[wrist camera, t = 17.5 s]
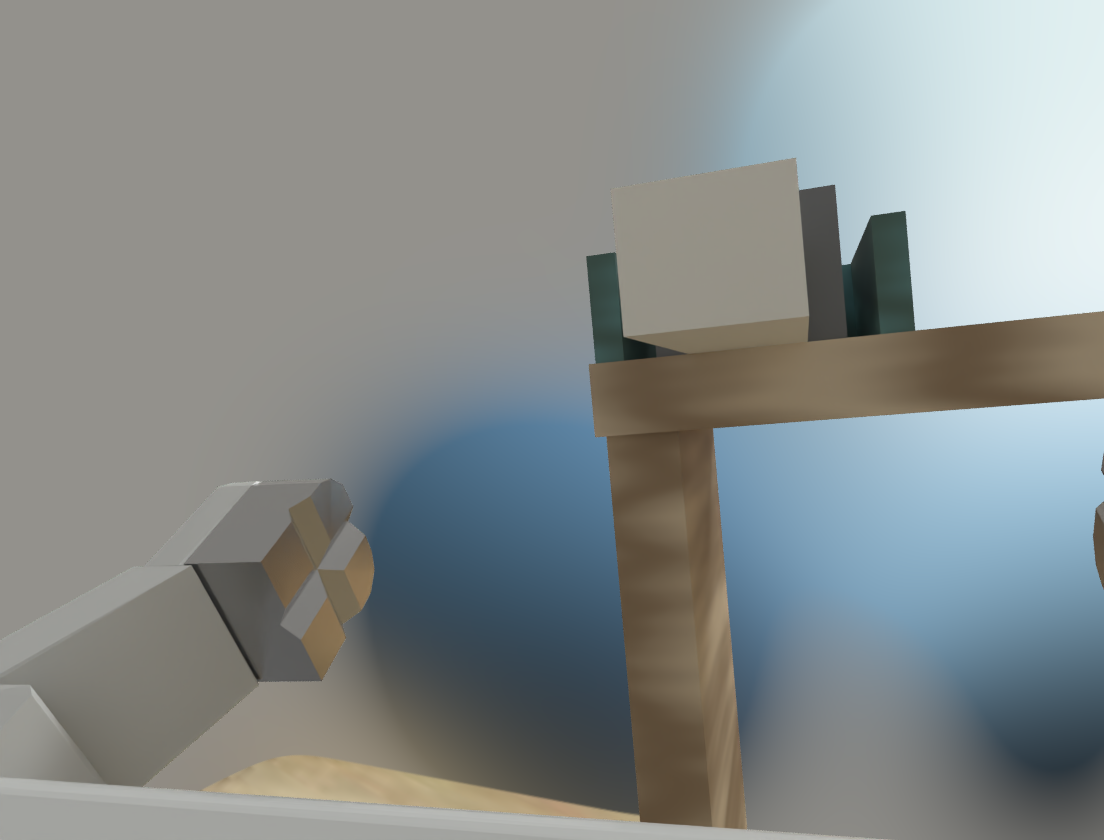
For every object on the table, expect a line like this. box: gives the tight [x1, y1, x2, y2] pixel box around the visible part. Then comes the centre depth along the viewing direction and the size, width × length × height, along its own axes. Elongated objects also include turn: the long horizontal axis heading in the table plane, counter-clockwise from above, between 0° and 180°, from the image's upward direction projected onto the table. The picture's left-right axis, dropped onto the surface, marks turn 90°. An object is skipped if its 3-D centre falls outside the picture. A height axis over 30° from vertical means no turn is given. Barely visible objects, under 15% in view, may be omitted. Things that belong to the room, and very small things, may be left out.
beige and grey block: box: [611, 158, 848, 357], centre depth 21 cm, size 16×5×4 cm, turn 163°
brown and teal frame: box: [587, 211, 1104, 830], centre depth 24 cm, size 20×10×29 cm, turn 73°
